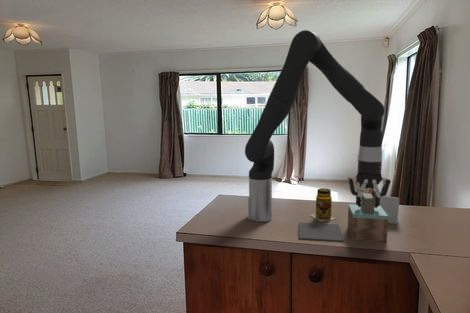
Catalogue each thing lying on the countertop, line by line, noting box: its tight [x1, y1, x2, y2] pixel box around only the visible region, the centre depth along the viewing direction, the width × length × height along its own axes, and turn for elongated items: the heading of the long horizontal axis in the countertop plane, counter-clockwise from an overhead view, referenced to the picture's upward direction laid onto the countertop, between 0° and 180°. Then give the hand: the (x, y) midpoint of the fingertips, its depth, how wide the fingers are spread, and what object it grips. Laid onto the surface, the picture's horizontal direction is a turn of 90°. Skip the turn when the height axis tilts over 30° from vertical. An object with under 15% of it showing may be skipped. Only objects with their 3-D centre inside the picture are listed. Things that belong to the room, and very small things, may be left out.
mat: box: [298, 221, 345, 243], centre depth 119 cm, size 15×15×1 cm
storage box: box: [347, 206, 389, 243], centre depth 115 cm, size 11×11×8 cm
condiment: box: [309, 187, 337, 223], centre depth 133 cm, size 7×8×12 cm
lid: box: [348, 192, 388, 219], centre depth 114 cm, size 11×11×6 cm
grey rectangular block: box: [379, 195, 400, 225], centre depth 128 cm, size 4×7×10 cm, turn 59°
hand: (367, 206), depth 114 cm, fingers open, 5 cm apart
